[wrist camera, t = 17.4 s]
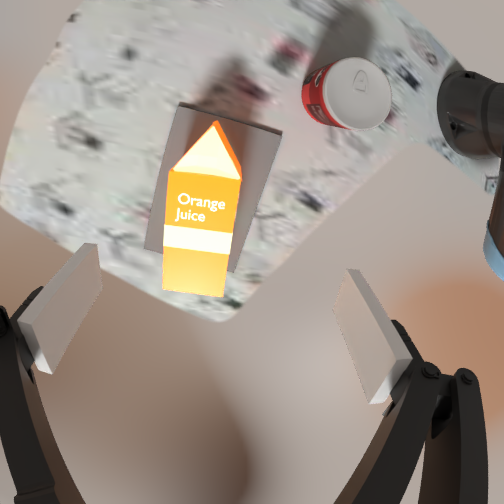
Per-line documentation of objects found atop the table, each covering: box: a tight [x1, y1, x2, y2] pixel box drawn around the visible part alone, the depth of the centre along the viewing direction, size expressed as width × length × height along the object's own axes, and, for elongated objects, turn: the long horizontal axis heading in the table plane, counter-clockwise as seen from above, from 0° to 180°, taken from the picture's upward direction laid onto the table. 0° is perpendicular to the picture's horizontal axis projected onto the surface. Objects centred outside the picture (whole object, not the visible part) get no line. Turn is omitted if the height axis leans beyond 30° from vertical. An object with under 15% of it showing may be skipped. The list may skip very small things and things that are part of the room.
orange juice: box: [163, 120, 242, 297], centre depth 35 cm, size 8×9×20 cm
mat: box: [144, 106, 282, 273], centre depth 40 cm, size 14×21×1 cm, turn 162°
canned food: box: [302, 57, 392, 131], centre depth 30 cm, size 8×8×11 cm
